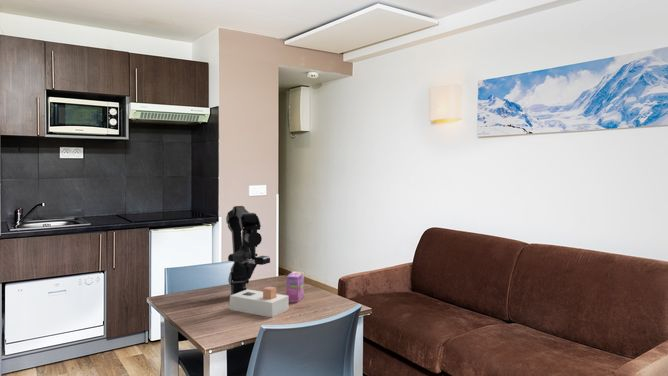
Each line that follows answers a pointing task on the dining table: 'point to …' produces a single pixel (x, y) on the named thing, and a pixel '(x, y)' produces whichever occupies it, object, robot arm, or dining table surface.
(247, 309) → the white rectangular block
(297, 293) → the box
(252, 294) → the metallic grey block
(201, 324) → the dining table surface
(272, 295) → the peach square block
